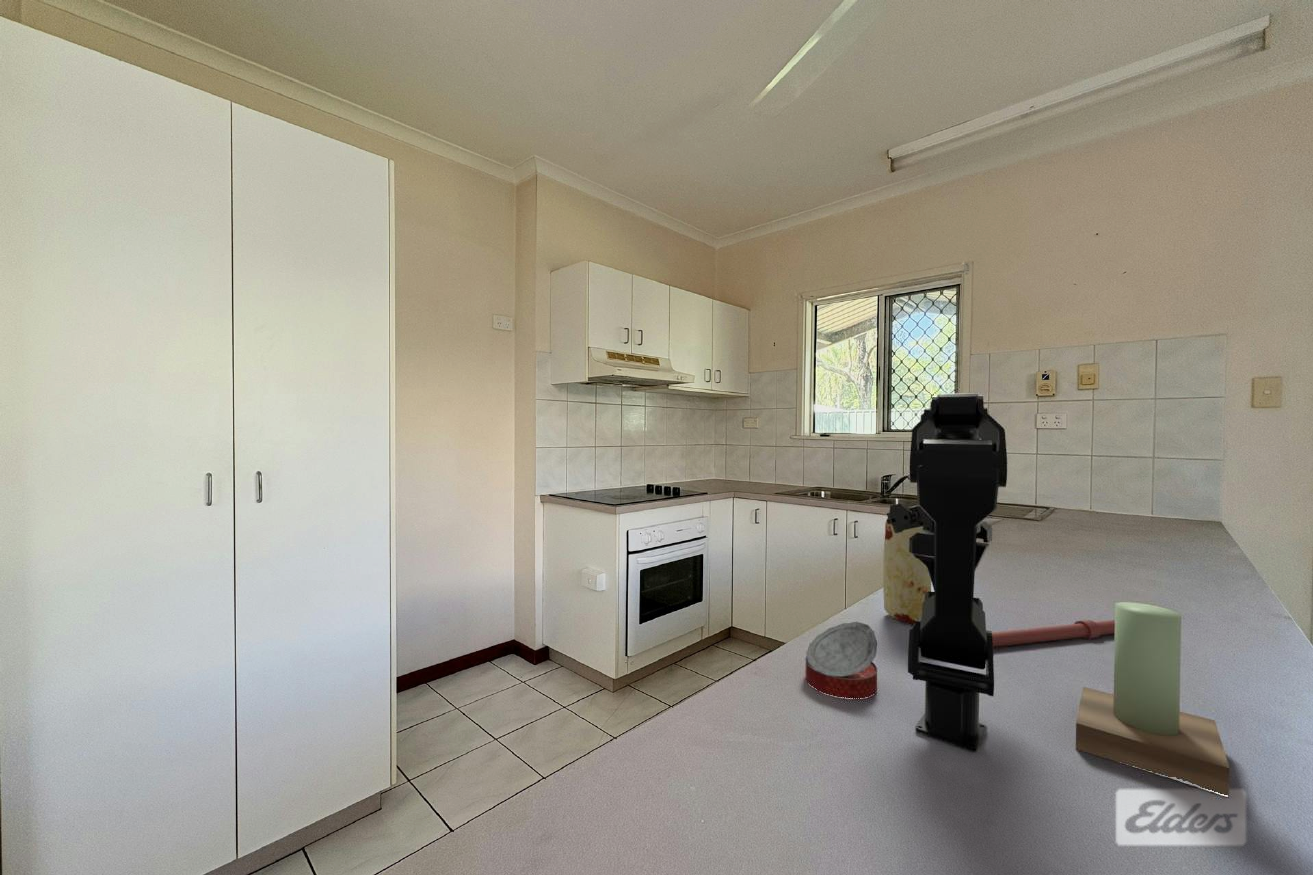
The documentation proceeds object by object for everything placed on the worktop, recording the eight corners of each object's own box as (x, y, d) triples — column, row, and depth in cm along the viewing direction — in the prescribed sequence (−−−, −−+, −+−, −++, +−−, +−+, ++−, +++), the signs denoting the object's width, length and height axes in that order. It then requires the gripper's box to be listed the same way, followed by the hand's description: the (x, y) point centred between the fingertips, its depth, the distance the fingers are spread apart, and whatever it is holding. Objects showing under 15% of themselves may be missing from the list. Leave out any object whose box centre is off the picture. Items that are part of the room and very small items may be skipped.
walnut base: (1229, 797, 52) (1229, 768, 52) (1075, 748, 60) (1076, 722, 60) (1214, 745, 61) (1214, 720, 61) (1082, 709, 69) (1082, 686, 69)
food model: (874, 615, 105) (875, 515, 105) (896, 610, 108) (898, 513, 108) (918, 632, 96) (920, 523, 96) (941, 626, 99) (943, 520, 99)
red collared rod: (1145, 627, 101) (1145, 611, 101) (1164, 633, 98) (1165, 616, 98) (951, 648, 89) (951, 630, 89) (966, 656, 86) (966, 637, 86)
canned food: (876, 729, 73) (892, 682, 68) (801, 712, 74) (812, 666, 70) (867, 661, 82) (881, 616, 77) (801, 648, 84) (810, 603, 79)
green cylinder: (1181, 741, 57) (1183, 622, 57) (1112, 722, 61) (1114, 610, 61) (1177, 720, 61) (1179, 609, 61) (1113, 703, 65) (1115, 599, 65)
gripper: (915, 479, 87) (913, 573, 87) (871, 487, 73) (869, 599, 73) (994, 485, 79) (991, 588, 79) (961, 495, 65) (958, 619, 66)
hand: (951, 597), depth 74 cm, fingers open, 9 cm apart
